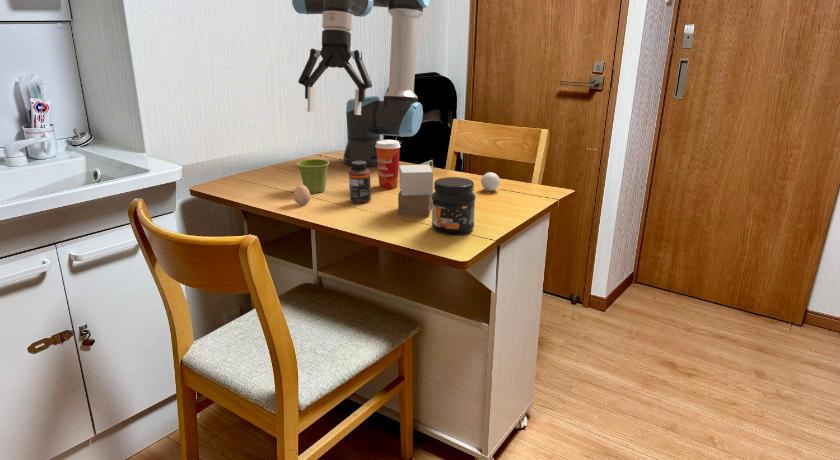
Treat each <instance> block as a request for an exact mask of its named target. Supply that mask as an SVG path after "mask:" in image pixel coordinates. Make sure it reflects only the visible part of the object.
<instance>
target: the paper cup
mask: <svg viewBox="0 0 840 460" xmlns="http://www.w3.org/2000/svg"><path fill="white" fill-rule="evenodd" d="M400 144H401V143H400V141H399V140H396V139H395V140H394V139H382V140H381V139H380V141H377V143H376V146H375V147H376V150H377V163H378V165H377V173H378V185H379V186H378V187H379V188H380V189H382V190H394V189H397V188H398V185H399V165H400V150H401V149H400V148H401V145H400Z"/></svg>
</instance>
